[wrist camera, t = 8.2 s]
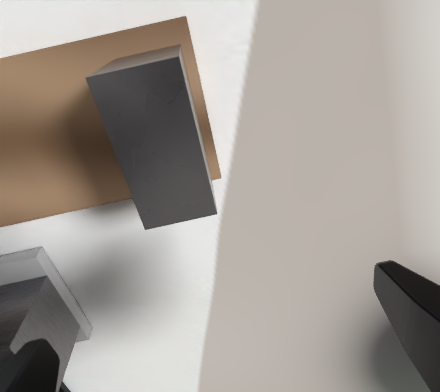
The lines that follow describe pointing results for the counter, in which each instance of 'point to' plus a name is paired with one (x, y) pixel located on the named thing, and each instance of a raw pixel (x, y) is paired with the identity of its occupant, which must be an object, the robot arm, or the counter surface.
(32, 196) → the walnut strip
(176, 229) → the counter surface
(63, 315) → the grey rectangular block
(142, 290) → the counter surface
